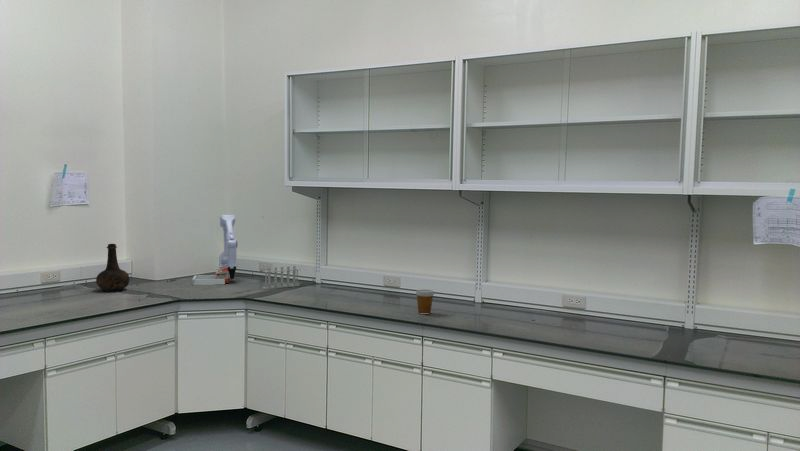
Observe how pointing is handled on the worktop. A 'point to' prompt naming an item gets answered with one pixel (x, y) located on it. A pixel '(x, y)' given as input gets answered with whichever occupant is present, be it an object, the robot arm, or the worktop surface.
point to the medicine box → (223, 274)
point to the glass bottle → (112, 273)
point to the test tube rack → (281, 277)
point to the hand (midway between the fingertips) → (232, 278)
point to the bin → (206, 280)
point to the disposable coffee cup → (424, 300)
